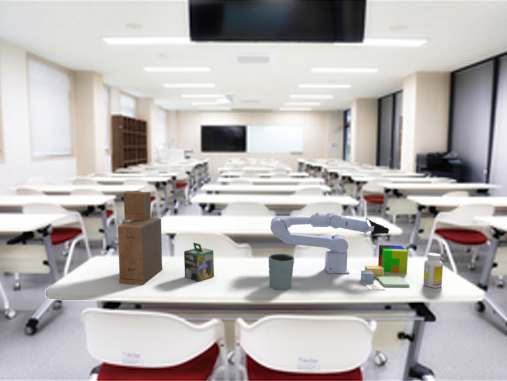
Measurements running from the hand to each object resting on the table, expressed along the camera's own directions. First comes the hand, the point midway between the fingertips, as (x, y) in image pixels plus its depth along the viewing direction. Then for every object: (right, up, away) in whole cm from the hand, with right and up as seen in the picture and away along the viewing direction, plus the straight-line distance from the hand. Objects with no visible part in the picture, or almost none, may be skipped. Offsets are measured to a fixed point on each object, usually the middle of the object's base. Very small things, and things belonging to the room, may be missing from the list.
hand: (385, 229), depth 164 cm
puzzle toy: (+5, -19, +6) cm, 21 cm away
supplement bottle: (+14, -21, -14) cm, 29 cm away
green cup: (-47, -21, -16) cm, 54 cm away
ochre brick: (-6, -20, -3) cm, 21 cm away
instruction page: (-10, -21, -17) cm, 29 cm away
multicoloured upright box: (-81, -20, -6) cm, 84 cm away
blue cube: (-11, -20, -10) cm, 25 cm away
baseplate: (-1, -21, -11) cm, 23 cm away
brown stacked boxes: (-106, -19, -5) cm, 108 cm away
